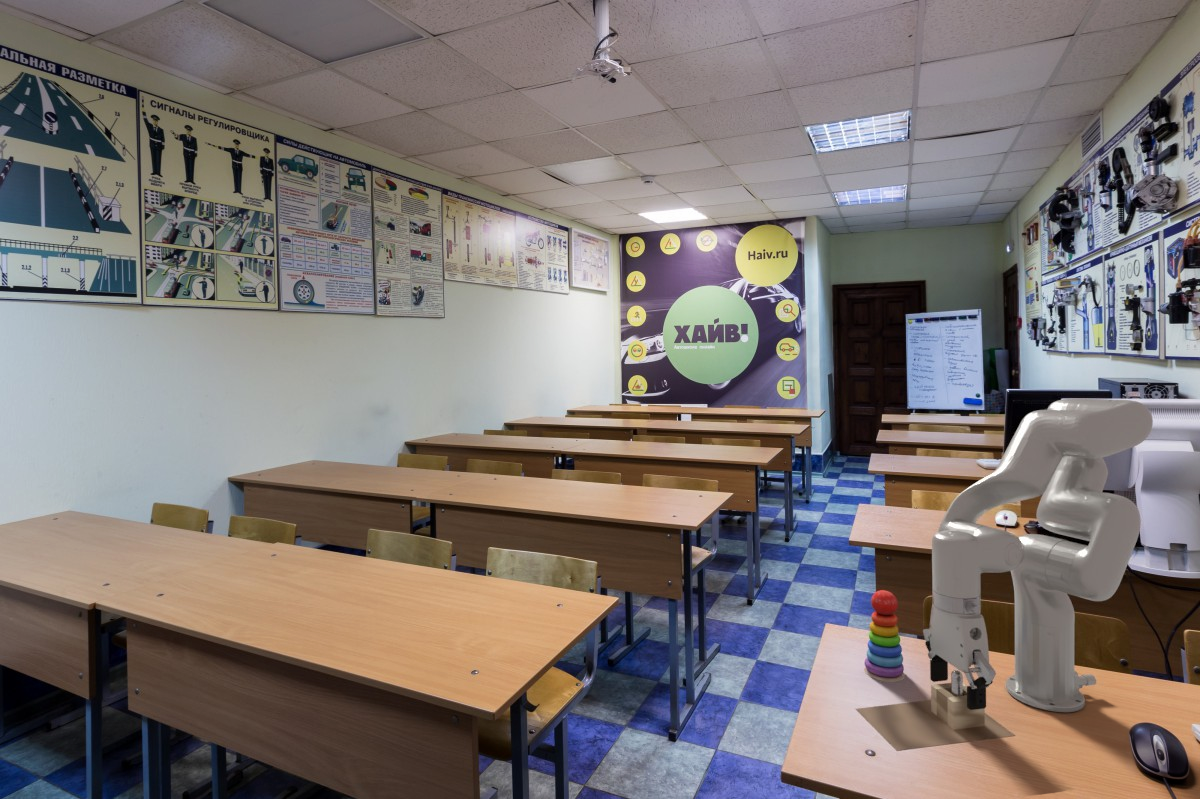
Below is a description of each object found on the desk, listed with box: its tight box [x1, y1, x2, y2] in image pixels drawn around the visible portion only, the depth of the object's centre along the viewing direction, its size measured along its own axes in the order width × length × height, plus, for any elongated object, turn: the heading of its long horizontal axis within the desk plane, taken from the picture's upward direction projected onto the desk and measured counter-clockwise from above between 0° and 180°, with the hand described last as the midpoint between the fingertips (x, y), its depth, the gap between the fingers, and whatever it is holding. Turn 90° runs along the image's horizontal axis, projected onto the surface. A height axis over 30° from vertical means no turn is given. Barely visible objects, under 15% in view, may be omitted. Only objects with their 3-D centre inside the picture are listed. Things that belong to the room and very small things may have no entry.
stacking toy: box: [863, 589, 906, 683], centre depth 131 cm, size 8×8×19 cm
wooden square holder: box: [930, 682, 986, 730], centre depth 113 cm, size 6×6×5 cm
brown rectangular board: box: [855, 699, 1016, 752], centre depth 113 cm, size 22×13×2 cm, turn 97°
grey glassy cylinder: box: [950, 669, 964, 697], centre depth 113 cm, size 2×2×9 cm
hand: (957, 693), depth 113 cm, fingers open, 9 cm apart
